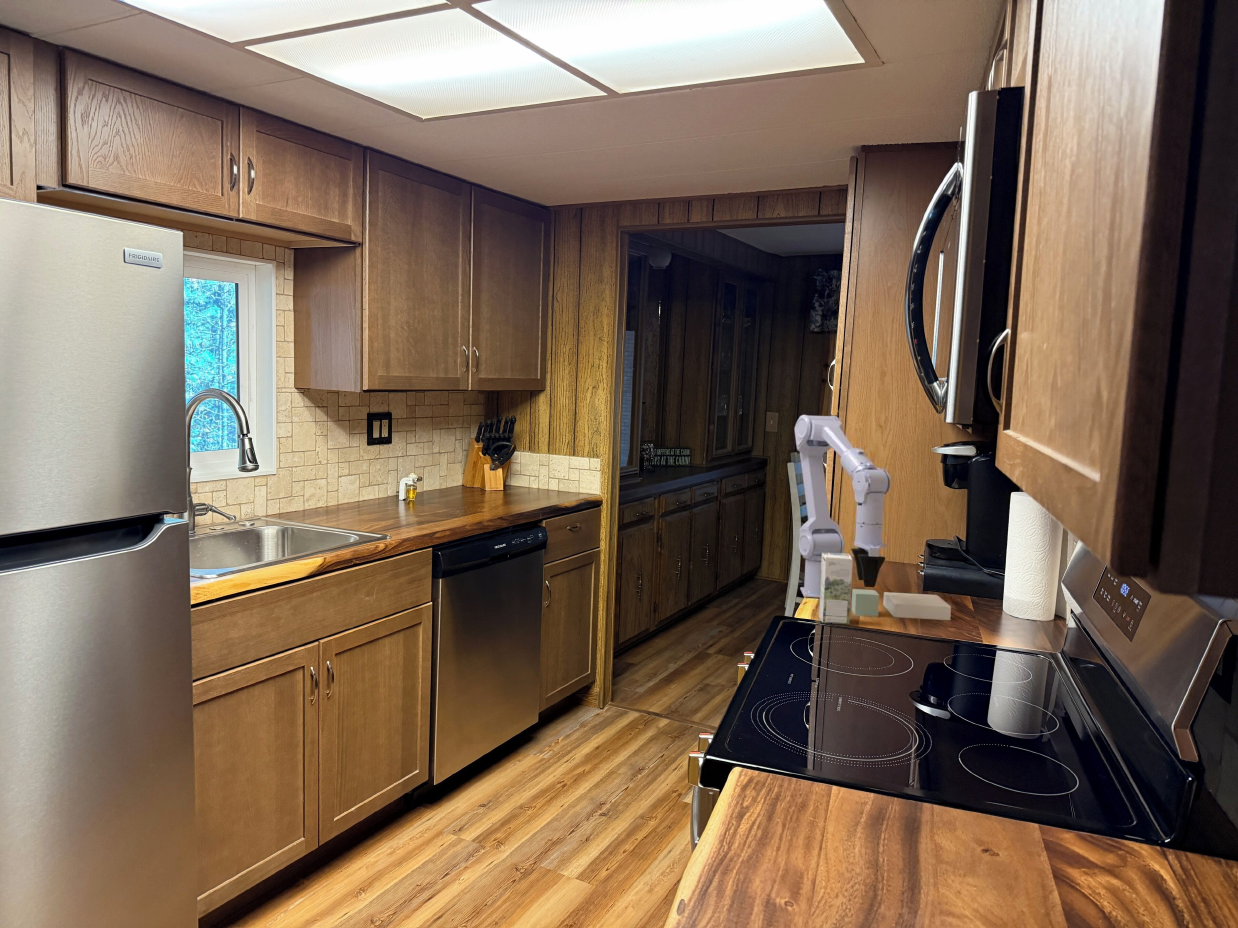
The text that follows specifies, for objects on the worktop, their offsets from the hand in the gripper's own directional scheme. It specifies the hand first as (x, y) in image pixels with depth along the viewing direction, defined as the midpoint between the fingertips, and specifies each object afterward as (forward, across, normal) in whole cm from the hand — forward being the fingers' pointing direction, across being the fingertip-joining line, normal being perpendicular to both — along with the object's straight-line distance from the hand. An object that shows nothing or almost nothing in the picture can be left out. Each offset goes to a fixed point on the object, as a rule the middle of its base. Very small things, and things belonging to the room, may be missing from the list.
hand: (866, 583), depth 190 cm
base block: (+7, +4, -12) cm, 14 cm away
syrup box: (+7, -9, +8) cm, 14 cm away
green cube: (+7, 0, 0) cm, 7 cm away
